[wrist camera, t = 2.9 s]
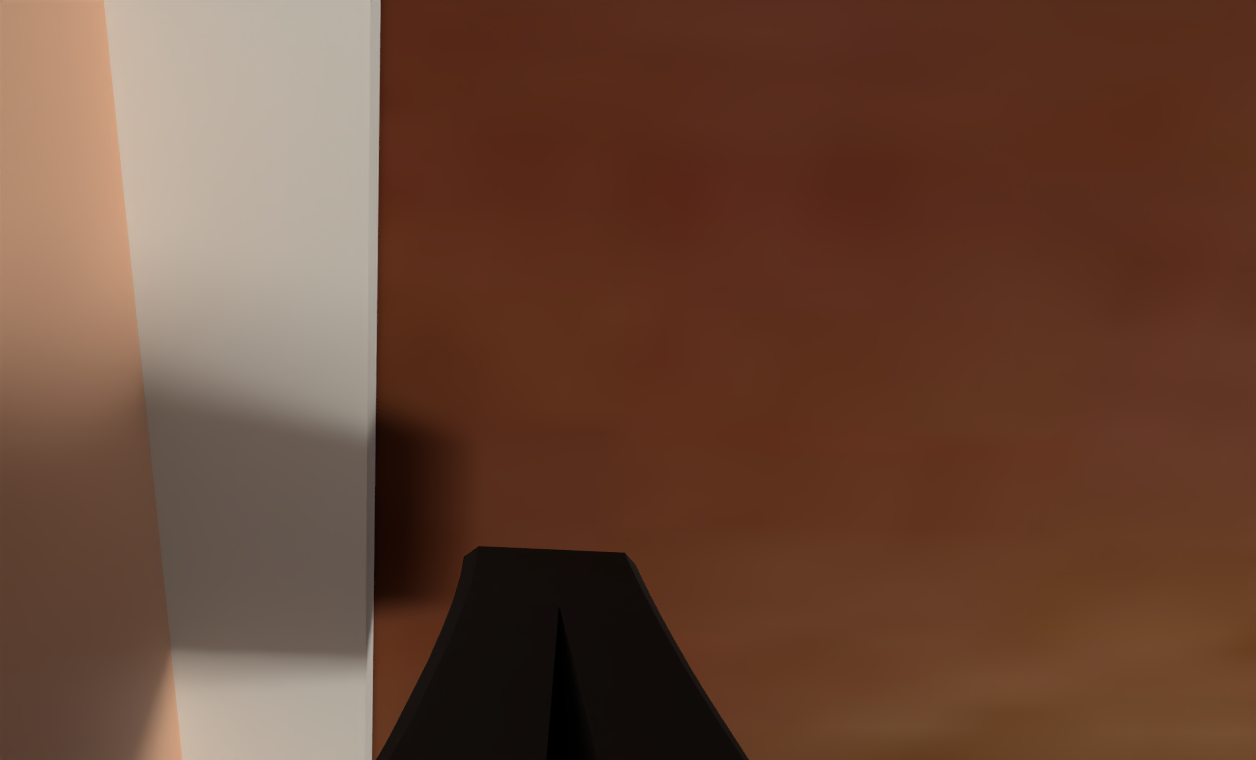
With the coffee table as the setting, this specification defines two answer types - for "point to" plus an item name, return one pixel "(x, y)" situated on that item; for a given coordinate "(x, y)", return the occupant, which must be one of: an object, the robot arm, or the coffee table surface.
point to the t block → (73, 414)
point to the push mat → (258, 356)
